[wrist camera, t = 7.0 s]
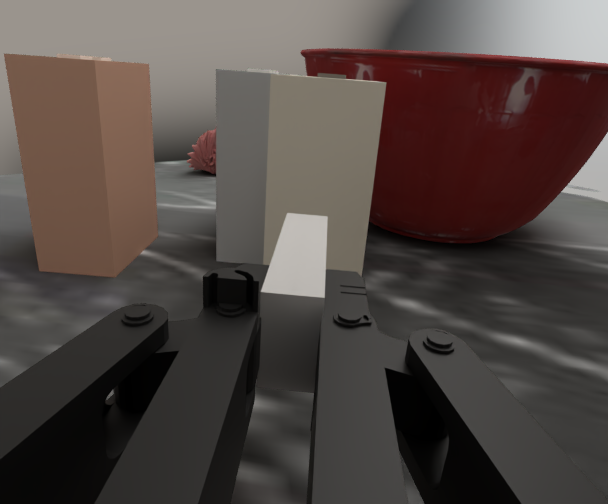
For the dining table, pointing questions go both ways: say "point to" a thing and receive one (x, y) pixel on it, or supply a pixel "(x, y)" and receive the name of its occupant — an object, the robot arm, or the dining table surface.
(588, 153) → the mixing bowl
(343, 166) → the cream block
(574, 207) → the dining table surface
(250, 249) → the grey block
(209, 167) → the flower
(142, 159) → the terracotta block
